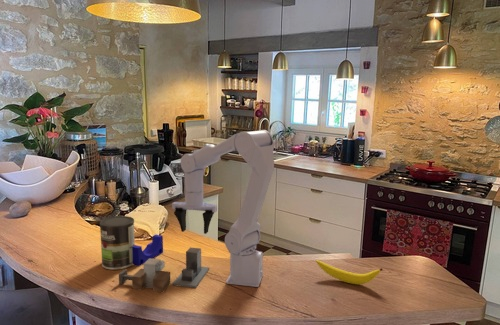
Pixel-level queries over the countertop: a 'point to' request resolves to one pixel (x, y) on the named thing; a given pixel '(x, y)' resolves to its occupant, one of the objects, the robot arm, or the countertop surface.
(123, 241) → the coffee can
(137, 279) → the vise
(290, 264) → the countertop surface
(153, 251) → the blue cradle bracket
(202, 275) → the pad
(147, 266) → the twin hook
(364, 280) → the banana
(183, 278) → the gray stepped bracket
